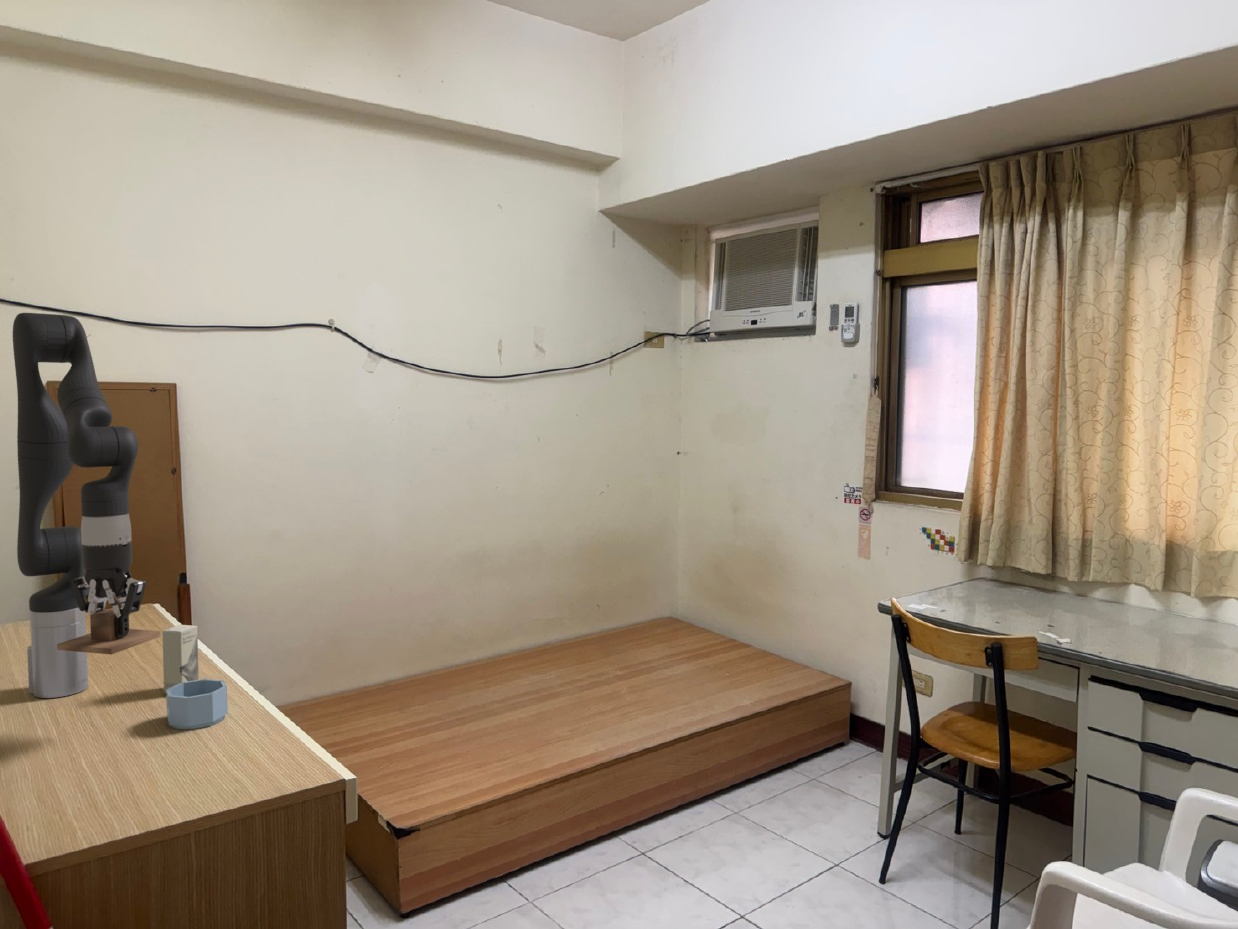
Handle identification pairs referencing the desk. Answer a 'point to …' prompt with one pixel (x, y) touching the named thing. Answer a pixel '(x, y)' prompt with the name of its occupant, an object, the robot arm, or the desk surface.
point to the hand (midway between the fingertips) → (110, 635)
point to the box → (180, 655)
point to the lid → (106, 636)
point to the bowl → (196, 704)
